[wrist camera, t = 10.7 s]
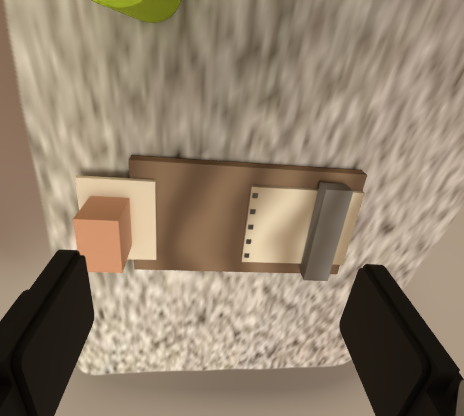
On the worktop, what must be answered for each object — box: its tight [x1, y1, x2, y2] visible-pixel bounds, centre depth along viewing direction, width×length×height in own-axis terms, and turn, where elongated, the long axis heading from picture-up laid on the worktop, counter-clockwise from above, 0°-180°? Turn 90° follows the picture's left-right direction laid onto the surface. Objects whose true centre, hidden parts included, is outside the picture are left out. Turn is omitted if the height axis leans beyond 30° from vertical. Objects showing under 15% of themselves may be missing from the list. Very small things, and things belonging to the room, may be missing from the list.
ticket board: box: [129, 155, 367, 281], centre depth 37 cm, size 26×14×4 cm, turn 85°
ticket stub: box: [73, 175, 157, 273], centre depth 33 cm, size 8×10×6 cm
